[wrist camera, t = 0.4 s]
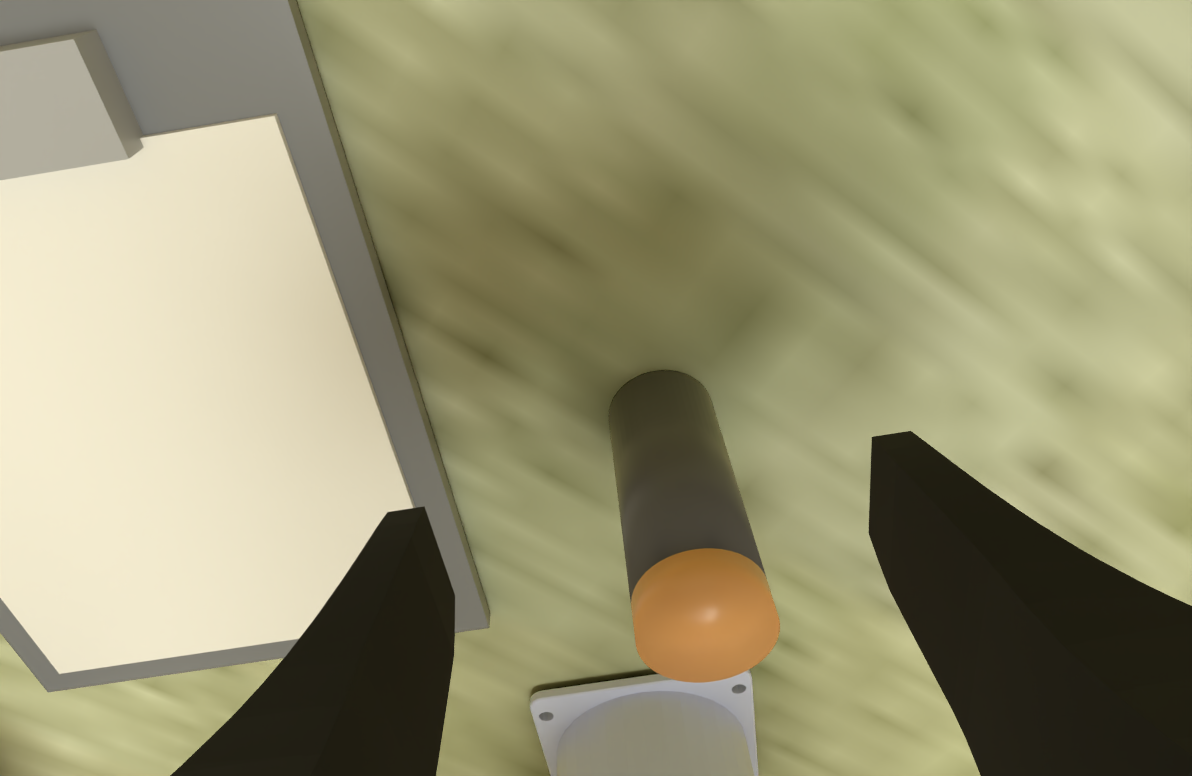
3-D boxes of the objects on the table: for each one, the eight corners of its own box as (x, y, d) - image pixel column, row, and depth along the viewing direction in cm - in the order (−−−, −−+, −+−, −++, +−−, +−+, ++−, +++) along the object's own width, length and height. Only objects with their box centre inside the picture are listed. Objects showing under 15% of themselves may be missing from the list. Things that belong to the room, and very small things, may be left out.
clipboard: (489, 613, 28) (487, 652, 27) (56, 677, 29) (32, 718, 27) (280, -50, 17) (258, -41, 16) (-417, 71, 18) (-496, 89, 16)
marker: (715, 448, 25) (782, 671, 18) (615, 463, 25) (644, 691, 18) (708, 363, 23) (778, 573, 16) (601, 379, 23) (627, 595, 17)
